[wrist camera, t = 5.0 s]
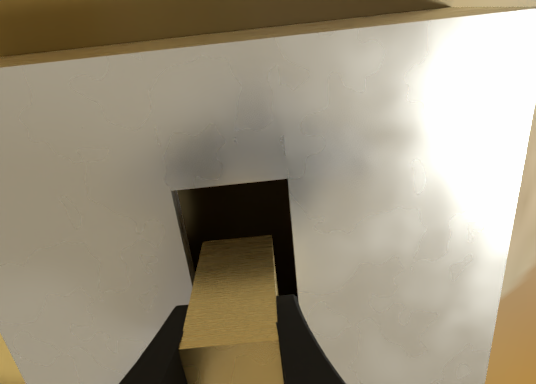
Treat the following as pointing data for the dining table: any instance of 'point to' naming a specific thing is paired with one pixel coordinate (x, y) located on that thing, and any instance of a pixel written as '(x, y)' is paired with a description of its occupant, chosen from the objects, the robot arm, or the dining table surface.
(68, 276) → the cash box
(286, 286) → the dining table surface
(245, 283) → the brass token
